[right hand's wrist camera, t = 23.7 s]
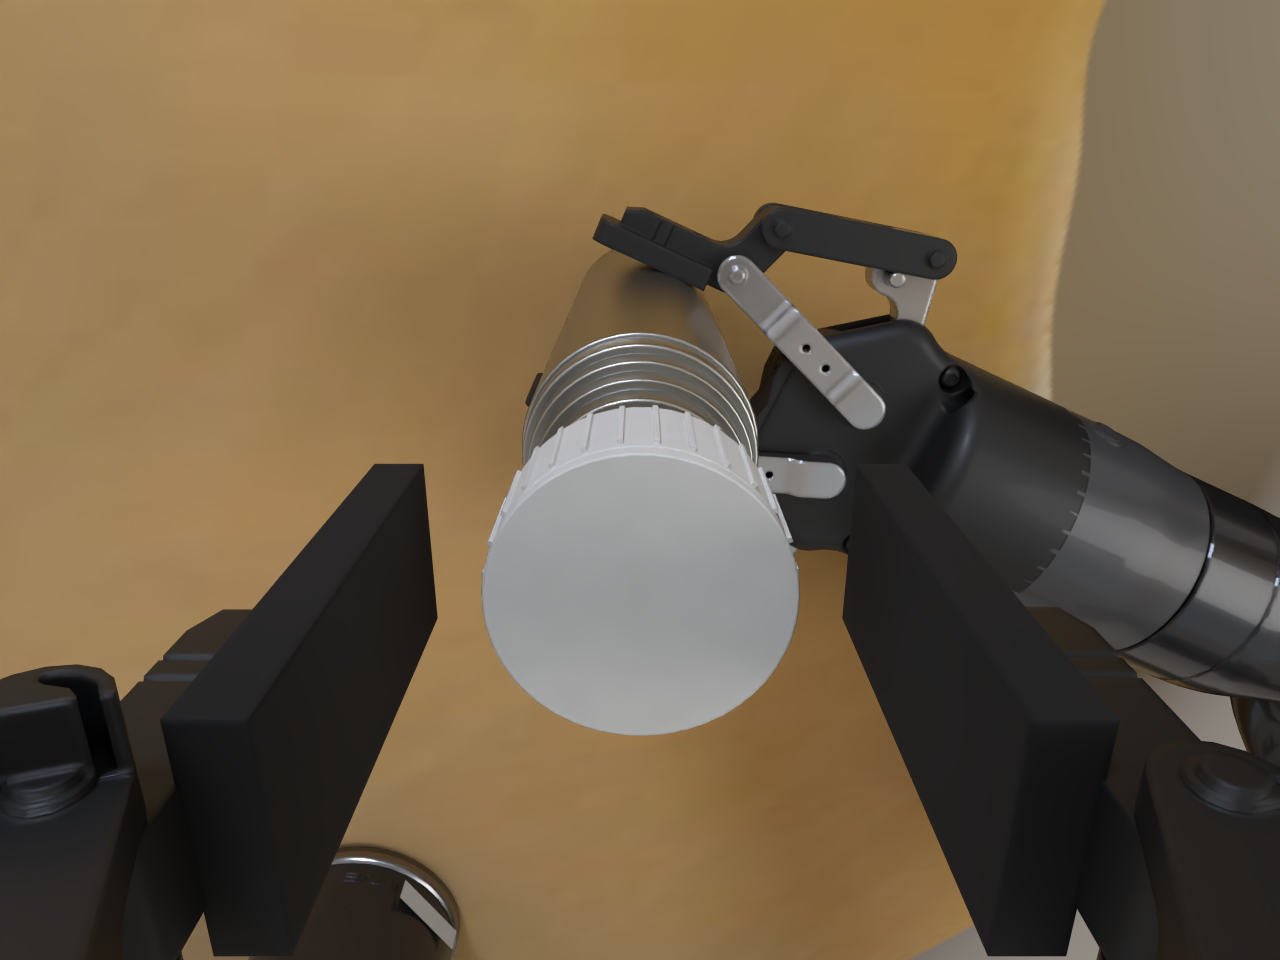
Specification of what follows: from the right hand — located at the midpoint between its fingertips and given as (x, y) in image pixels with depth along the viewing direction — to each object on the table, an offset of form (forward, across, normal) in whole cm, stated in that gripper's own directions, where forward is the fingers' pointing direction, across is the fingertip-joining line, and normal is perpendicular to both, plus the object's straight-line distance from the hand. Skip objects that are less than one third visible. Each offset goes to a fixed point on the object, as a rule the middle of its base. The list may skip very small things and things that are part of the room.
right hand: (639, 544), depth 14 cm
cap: (-2, 0, 0) cm, 2 cm away
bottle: (+22, 0, 0) cm, 22 cm away
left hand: (+16, -2, +1) cm, 16 cm away
